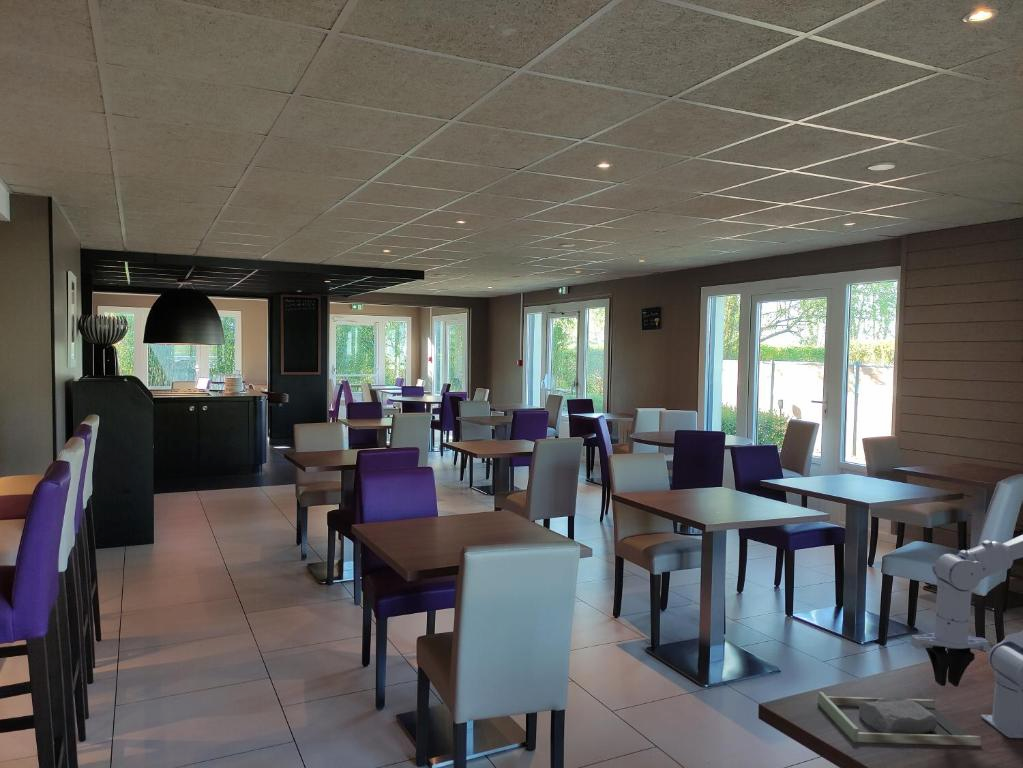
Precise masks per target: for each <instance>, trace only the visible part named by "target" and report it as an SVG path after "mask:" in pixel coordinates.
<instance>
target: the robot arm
mask: <svg viewBox="0 0 1023 768" xmlns="http://www.w3.org/2000/svg"><path fill="white" fill-rule="evenodd" d="M1021 558H1023V534H1021V535H1018V536H1016V537H1014V538H1011V539H1010V540H1007V541H1005V542H1003V543H1001V542H999V541H996V540H989V539H985V540H983V541H981V544H979V545H977V546H975V547H971V548H969V549H966V550H965V549H962V550H959V553H957V554H953V553H944V554H942V555H941V556H939V557H938V558H937V559H936V561H935V563H934V565H932V566H931V570H932V573H933V575H934V576H935V578H936V586H937V589H936V590H937V591H936V601H935V602H936V604H935V611H934V613H935V614H934V615H935V616H934V625H933V626H934V627H933V632H932V633H926V634H925V633H924V634H915V635H913V634H912V635H911V638H910V639H911V640H910V641H911V642H910V645H911V646H913V647H914V648H916V649H918V650H920V649H921V650H922V649H925V650H926V652H927V655H928V657H929V661H930V662H931V666H932V670H933V674H934V675H933V676H934V681H935V683H937V684H938V685H939V686H941V687H946V683H947V682H948V683H950V684H951V685H952V686H954V687H959V684H960V681H961V679H962V678H963V675H964V673H965V671H966V669H967V668H968V667H969V666H970V665H971V663H972V662H973V661H974V660H975V653H974V652H972V651H971V650H981V651H983V652H989V653H988V656H987V660H988V664H989V665H990V668H991V669H993V670H994V671H993V676H994V677H995V680H994V691H993V692H994V693H993V703H992V713H991V714H981V715H980V717H981V718H982V719H983V720H984V721H985V722H987V723H988V724H989V725H991V726H992V727H993V728H994V729H996V730H997V731H999V732H1000V733H1001V734H1003V735H1004V736H1005V737H1008V738H1009V739H1023V629H1022V630H1021V631H1020V632H1015V633H1011V634H1010V633H1009V634H1007V635H1006V636H1005V637H1004V639H1003V640H1001V642H999V643H997V644H995V645H994V646H993V647H991V649H990V641H988V640H987V639H985V638H984V637H979V636H978V637H977V636H970V635H969V626H970V613H971V606H972V605H971V603H972V594H973V593H972V591H973V590H975V589H976V588H977V587H978V585H979V584H980V583H981V581H982V580H985V579H986V578H987V577H990V576H994V575H995V574H999V573H1001V572H1004V571H1007V570H1009V569H1011V568H1012V566H1013V563H1014V560H1017V559H1021ZM989 649H990V650H989Z"/></svg>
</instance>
